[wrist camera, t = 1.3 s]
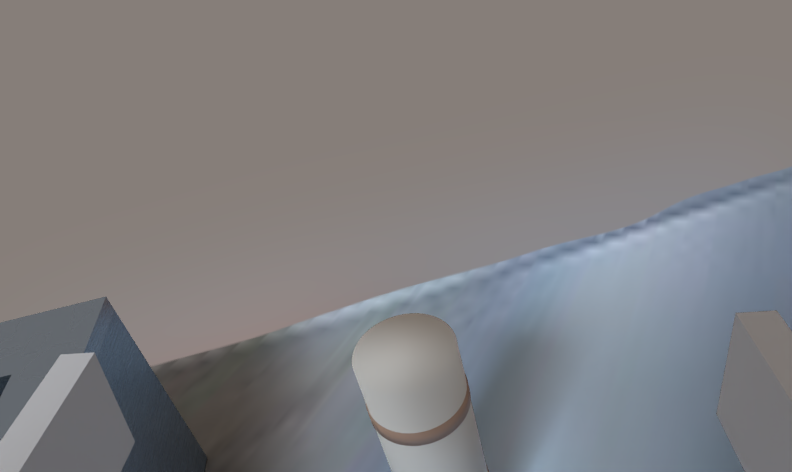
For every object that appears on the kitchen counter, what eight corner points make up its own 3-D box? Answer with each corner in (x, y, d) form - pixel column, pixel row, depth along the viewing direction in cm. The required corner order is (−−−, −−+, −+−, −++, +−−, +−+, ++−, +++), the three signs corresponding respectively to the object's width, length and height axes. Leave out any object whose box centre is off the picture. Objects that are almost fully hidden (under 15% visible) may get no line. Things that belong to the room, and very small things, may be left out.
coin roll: (487, 471, 38) (448, 302, 30) (507, 549, 34) (468, 378, 27) (407, 489, 38) (348, 326, 31) (418, 569, 34) (353, 405, 27)
